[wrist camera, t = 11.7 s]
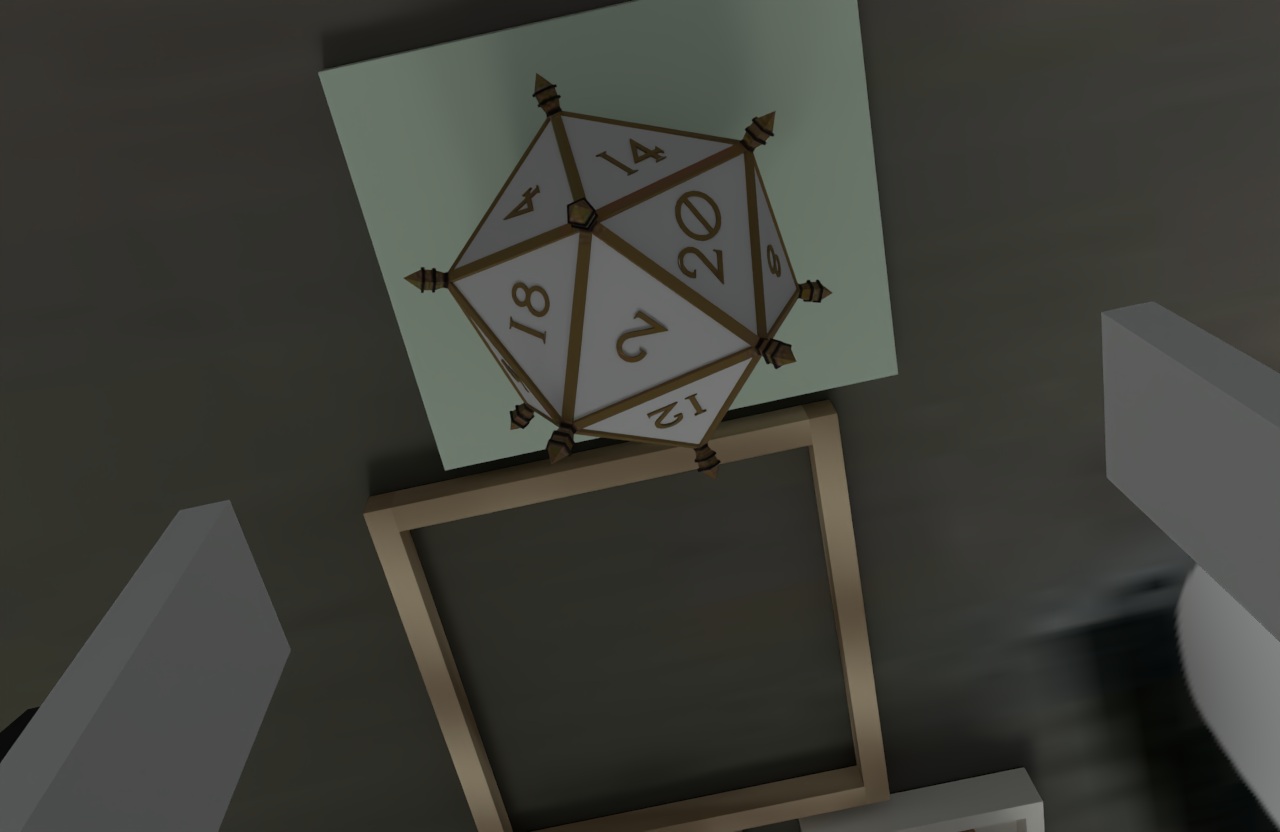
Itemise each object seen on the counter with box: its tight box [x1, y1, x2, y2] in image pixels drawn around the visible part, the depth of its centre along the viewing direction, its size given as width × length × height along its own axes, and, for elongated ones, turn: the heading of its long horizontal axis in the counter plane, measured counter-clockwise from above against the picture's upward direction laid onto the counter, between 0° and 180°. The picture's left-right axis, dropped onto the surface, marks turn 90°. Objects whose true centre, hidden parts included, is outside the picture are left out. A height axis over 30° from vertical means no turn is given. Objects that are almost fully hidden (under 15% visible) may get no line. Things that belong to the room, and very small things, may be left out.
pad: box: [318, 0, 898, 470], centre depth 28 cm, size 11×13×1 cm
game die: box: [404, 73, 832, 480], centre depth 24 cm, size 9×8×10 cm
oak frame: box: [363, 399, 891, 832], centre depth 33 cm, size 15×14×1 cm
